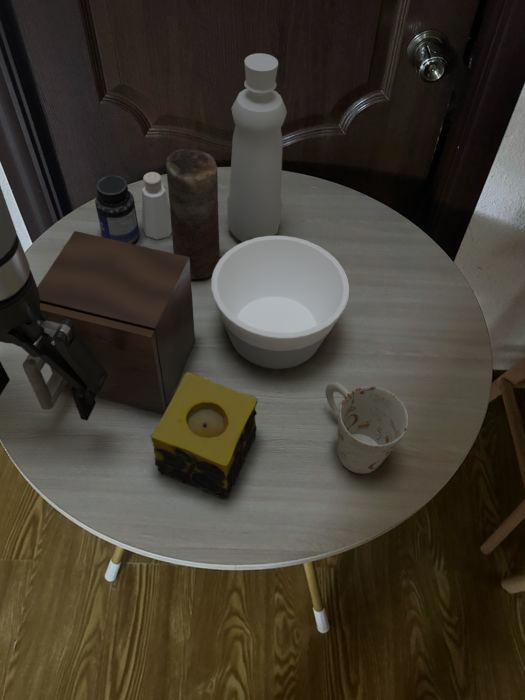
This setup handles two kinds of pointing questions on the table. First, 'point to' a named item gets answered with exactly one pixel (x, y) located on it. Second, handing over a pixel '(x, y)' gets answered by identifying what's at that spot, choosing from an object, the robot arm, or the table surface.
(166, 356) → the cabinet
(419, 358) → the table surface
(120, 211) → the pill bottle
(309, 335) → the bowl
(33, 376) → the door
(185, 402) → the candle
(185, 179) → the candle
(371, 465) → the mug
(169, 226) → the salt shaker
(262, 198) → the bottle
